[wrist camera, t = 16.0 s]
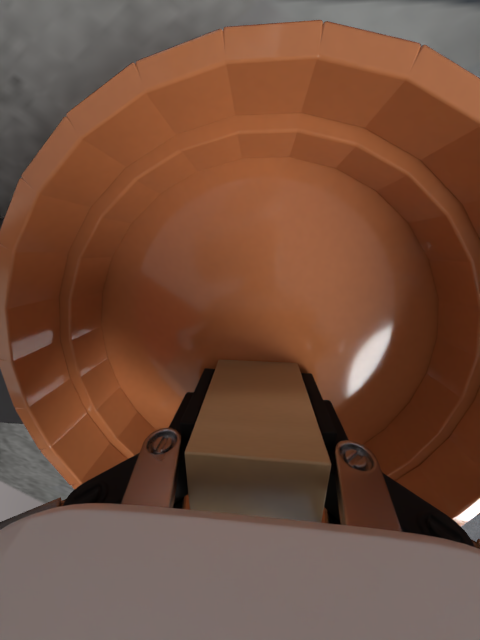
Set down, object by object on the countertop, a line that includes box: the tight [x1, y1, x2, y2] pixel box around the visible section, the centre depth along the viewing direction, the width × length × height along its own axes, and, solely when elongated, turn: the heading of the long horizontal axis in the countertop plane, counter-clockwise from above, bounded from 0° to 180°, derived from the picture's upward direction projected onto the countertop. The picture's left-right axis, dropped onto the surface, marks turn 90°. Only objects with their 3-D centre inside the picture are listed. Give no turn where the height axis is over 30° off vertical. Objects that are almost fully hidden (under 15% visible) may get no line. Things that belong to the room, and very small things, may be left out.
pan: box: [0, 20, 480, 527], centre depth 9 cm, size 18×18×4 cm
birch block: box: [185, 360, 331, 523], centre depth 9 cm, size 4×4×6 cm
